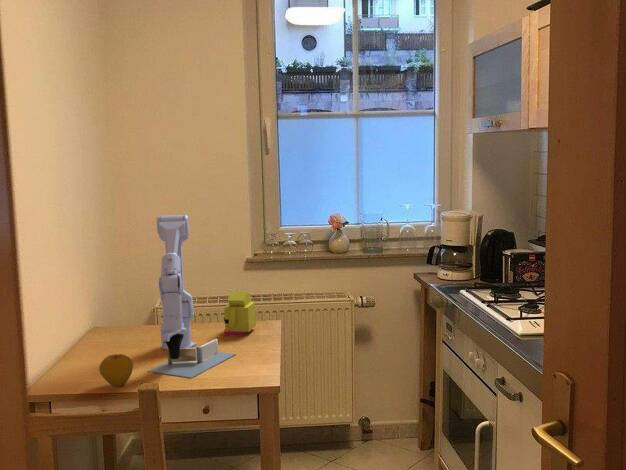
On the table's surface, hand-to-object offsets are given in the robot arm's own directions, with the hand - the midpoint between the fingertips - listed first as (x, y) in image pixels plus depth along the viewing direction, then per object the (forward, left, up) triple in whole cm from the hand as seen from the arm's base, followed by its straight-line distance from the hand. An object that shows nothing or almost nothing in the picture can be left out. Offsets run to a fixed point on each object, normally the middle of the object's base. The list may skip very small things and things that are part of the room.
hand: (175, 358), depth 195 cm
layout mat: (+3, +4, -2) cm, 6 cm away
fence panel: (+1, +2, -2) cm, 3 cm away
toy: (-2, +39, -3) cm, 39 cm away
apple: (-5, -19, -3) cm, 20 cm away
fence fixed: (+5, +9, -2) cm, 11 cm away
